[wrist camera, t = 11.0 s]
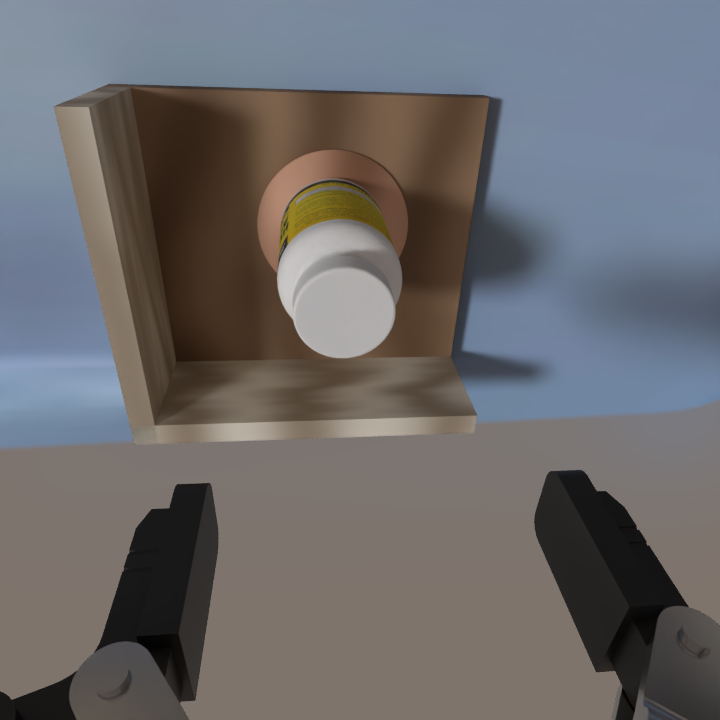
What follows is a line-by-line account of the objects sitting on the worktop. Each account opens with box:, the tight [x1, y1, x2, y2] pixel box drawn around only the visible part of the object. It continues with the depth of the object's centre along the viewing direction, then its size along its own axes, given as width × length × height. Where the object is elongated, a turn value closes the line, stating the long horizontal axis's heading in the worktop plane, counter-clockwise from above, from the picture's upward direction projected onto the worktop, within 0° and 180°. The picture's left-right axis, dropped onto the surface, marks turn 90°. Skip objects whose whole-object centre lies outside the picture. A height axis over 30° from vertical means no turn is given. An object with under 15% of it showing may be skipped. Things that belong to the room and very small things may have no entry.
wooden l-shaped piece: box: [54, 84, 489, 444], centre depth 28 cm, size 18×16×7 cm
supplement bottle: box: [277, 178, 402, 358], centre depth 25 cm, size 5×5×10 cm
